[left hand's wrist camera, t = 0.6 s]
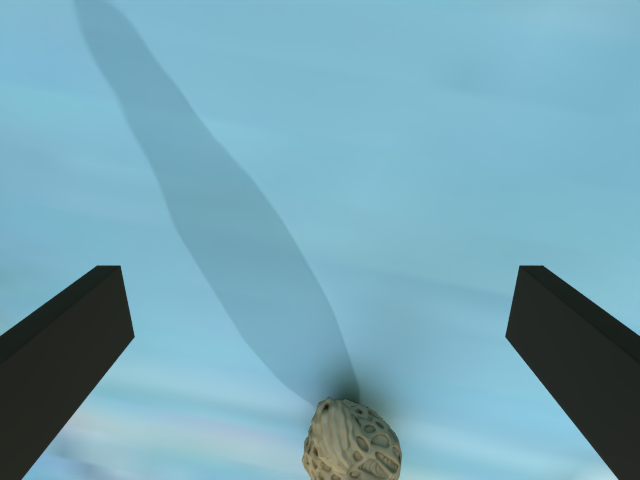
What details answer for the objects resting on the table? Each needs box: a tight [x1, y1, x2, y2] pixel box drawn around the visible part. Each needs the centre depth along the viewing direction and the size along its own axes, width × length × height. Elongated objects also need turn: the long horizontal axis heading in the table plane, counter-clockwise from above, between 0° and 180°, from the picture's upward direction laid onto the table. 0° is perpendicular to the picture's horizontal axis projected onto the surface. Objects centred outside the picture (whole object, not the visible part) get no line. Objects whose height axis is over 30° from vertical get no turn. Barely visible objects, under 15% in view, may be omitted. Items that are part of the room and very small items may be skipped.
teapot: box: [302, 397, 402, 480], centre depth 43 cm, size 21×12×15 cm, turn 15°
